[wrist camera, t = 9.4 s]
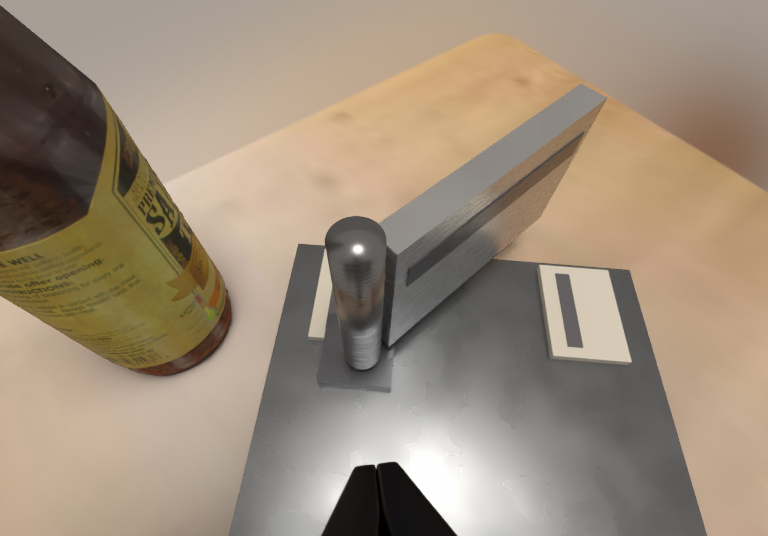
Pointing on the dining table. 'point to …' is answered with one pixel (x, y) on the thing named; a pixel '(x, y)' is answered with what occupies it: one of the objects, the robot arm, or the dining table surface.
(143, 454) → the dining table surface
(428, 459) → the metal base plate
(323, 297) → the strip
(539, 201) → the grey slotted panel
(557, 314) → the label plate
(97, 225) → the sauce bottle
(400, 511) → the robot arm
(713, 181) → the dining table surface
